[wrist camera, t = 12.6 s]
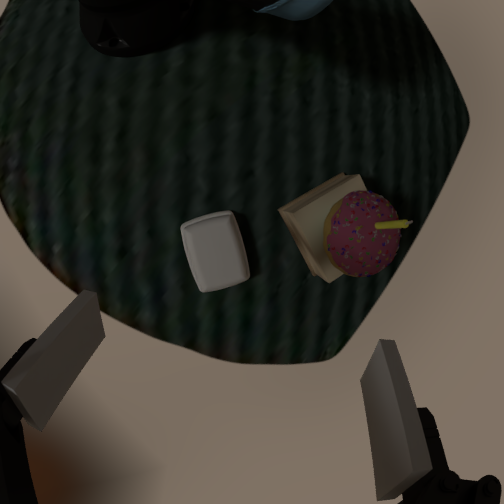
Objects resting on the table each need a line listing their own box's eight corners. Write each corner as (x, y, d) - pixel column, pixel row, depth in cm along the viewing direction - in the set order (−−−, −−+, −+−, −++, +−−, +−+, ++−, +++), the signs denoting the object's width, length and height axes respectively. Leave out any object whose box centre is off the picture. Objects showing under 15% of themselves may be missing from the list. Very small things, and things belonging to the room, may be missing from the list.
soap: (252, 277, 38) (256, 284, 35) (199, 293, 38) (199, 301, 35) (233, 206, 36) (235, 208, 33) (177, 222, 36) (175, 225, 33)
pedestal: (277, 209, 37) (289, 212, 32) (341, 172, 37) (360, 170, 32) (312, 275, 39) (327, 286, 34) (371, 237, 40) (391, 243, 35)
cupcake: (309, 188, 32) (367, 189, 20) (377, 191, 33) (449, 195, 21) (307, 268, 33) (360, 307, 22) (374, 264, 35) (440, 295, 23)
